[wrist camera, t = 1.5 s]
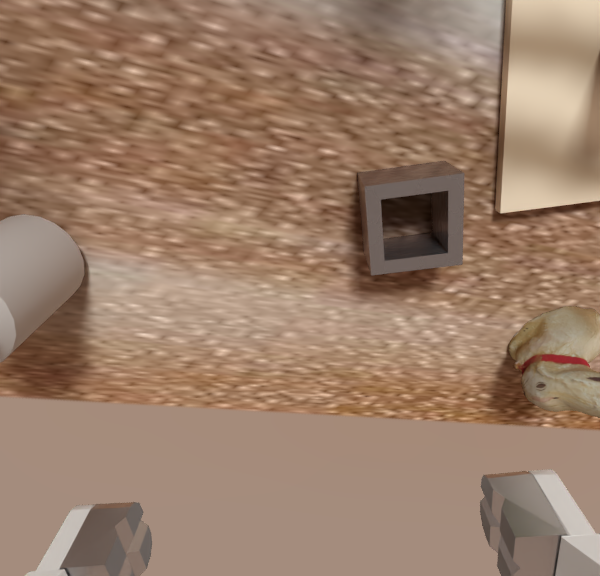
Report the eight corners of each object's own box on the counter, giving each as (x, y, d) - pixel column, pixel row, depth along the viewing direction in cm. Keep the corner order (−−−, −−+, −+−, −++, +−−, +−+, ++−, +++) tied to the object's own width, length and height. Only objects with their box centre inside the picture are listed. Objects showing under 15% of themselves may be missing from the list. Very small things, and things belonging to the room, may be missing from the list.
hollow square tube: (357, 172, 33) (364, 186, 29) (444, 160, 33) (464, 173, 29) (363, 252, 36) (371, 275, 32) (444, 242, 35) (462, 264, 31)
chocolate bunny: (502, 313, 38) (563, 387, 29) (597, 301, 37) (690, 374, 28) (498, 365, 40) (554, 449, 31) (588, 355, 40) (671, 438, 31)
